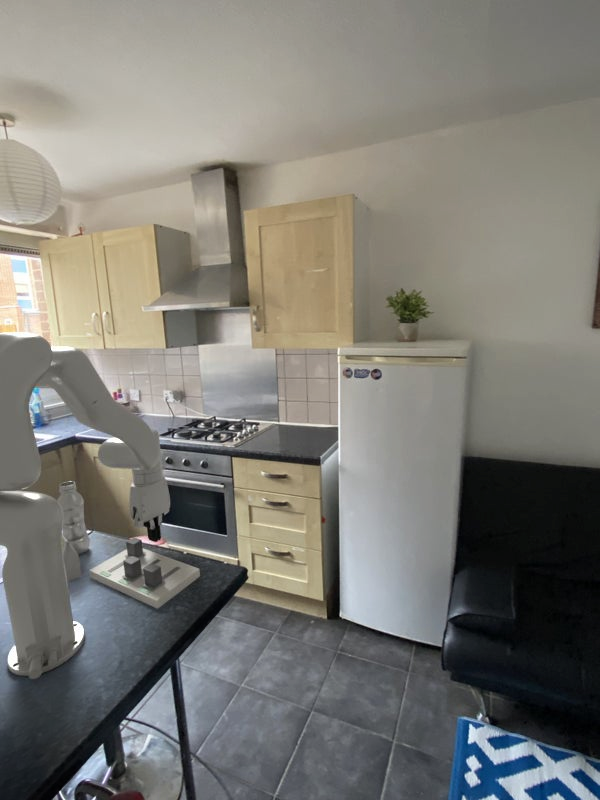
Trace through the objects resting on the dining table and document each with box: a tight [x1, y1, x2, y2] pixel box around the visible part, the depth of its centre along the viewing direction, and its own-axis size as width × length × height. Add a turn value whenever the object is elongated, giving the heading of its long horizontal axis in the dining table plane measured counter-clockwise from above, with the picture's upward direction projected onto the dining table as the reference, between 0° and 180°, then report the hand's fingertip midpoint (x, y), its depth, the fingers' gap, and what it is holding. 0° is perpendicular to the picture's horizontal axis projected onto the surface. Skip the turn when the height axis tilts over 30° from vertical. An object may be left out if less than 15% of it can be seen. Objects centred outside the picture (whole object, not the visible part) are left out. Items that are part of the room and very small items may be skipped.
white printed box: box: [62, 533, 82, 583], centre depth 101 cm, size 4×7×10 cm, turn 42°
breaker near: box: [142, 564, 165, 590], centre depth 93 cm, size 4×4×4 cm
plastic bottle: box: [56, 480, 91, 556], centre depth 110 cm, size 6×7×20 cm
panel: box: [89, 547, 201, 610], centre depth 100 cm, size 24×13×2 cm, turn 60°
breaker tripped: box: [125, 536, 146, 558], centre depth 105 cm, size 4×4×4 cm
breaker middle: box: [122, 556, 144, 581], centre depth 96 cm, size 4×4×4 cm
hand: (154, 539), depth 111 cm, fingers closed
